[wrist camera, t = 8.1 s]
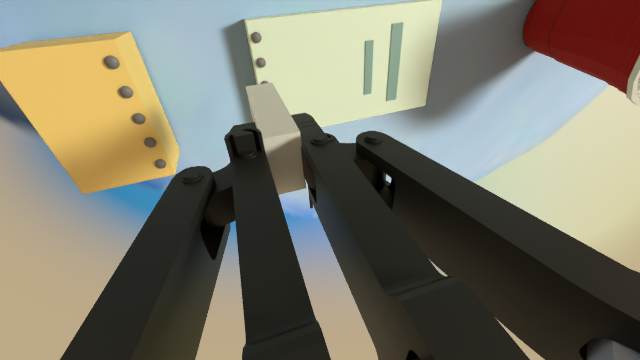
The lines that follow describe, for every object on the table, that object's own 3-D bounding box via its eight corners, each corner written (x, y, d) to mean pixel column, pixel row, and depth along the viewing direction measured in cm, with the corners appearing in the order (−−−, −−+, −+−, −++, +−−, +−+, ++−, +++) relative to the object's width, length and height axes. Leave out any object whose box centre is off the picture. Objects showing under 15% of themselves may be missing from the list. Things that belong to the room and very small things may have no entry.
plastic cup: (507, 94, 33) (628, 135, 23) (495, 4, 26) (658, 11, 16) (587, 33, 32) (748, 51, 22) (596, -76, 25) (832, -117, 15)
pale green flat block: (243, 18, 20) (246, 20, 19) (430, -1, 24) (443, -1, 22) (265, 131, 25) (269, 138, 24) (416, 101, 29) (425, 106, 28)
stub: (23, 42, 17) (-21, 54, 14) (130, 31, 18) (113, 39, 15) (100, 165, 22) (82, 195, 19) (179, 149, 23) (175, 175, 20)
